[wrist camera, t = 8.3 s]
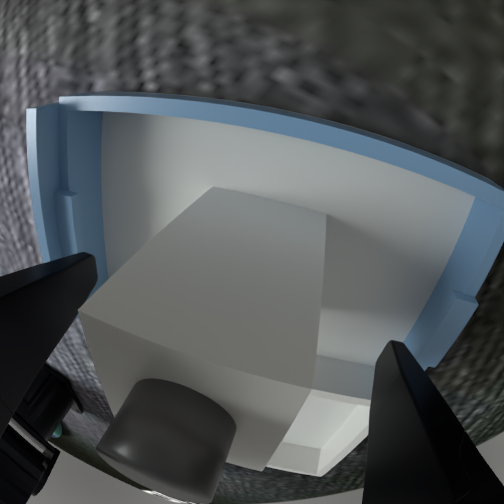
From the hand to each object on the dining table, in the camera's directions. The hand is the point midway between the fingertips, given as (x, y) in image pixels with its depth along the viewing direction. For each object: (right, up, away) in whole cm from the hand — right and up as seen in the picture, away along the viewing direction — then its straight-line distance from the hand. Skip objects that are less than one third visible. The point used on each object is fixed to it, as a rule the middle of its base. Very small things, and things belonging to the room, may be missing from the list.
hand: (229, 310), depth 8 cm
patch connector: (+1, +2, +3) cm, 4 cm away
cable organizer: (0, -2, +6) cm, 6 cm away
